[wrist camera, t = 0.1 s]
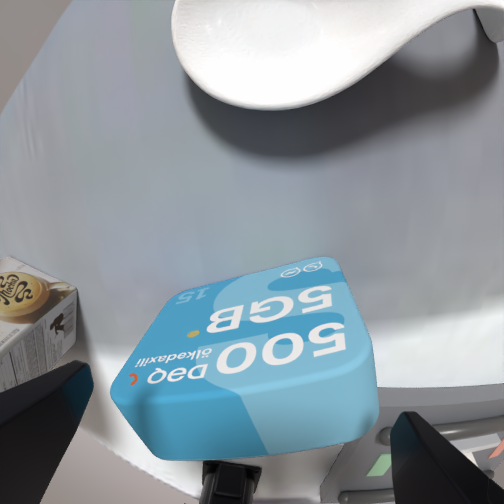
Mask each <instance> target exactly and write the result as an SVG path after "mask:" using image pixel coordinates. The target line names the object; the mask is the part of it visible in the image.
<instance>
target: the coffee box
mask: <svg viewBox="0 0 504 504" xmlns="http://www.w3.org/2000/svg"><path fill="white" fill-rule="evenodd" d="M76 309H77V289H76V288H75V287H74V286H71V285H69V284H67V283H65V282H62V281H60V280H58V279H56V278H53V277H51V276H49V275H47V274H45V273H43V272H40V271H38V270H36V269H34V268H32V267H30V266H28V265H26V264H24V263H22V262H20V261H18V260H16V259H14V258H12V257H9V256H8V257H6V258H4V259H2V260H1V261H0V392H3V391H5V390H7V389H10V388H12V387H15V386H17V385H19V384H22V383H24V382H26V381H29V380H31V379H33V378H36V377H38V376H40V375H43V374H45V373H47V372H49V371H50V370H51V369H52V368H53V366H54V365H55V364H56V363H57V362H58V361H59V360H60V359H61V357H62V356H63V355H64V354H65V353H66V352H67V351H68V350H69V349H70V348H71V347H72V346H73V345H74V343H75V342H76Z"/></svg>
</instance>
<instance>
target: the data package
mask: <svg viewBox="0 0 504 504" xmlns="http://www.w3.org/2000/svg"><path fill="white" fill-rule="evenodd" d="M110 395H111V398H112V400H113V401H114V403H115V404H116V406H117V407H118V409H119V410H120V412H121V413H122V414H123V416H124V417H125V419H126V420H127V421H128V423H129V424H130V425H131V427H132V428H133V429H134V431H135V432H136V433H137V435H138V436H139V437H140V439H141V440H142V441H143V442H144V444H145V445H146V446H147V447H148V449H149V450H150V451H151V452H152V454H153V455H155V456H156V457H158V458H160V459H163V460H170V461H200V460H225V459H240V458H252V457H262V456H271V455H279V454H286V453H293V452H299V451H305V450H311V449H317V448H322V447H327V446H332V445H337V444H341V443H346V442H350V441H353V440H356V439H358V438H360V437H362V436H363V435H365V434H366V433H367V432H368V431H370V430H371V428H372V427H373V426H374V425H375V423H376V421H377V419H378V416H379V402H378V390H377V380H376V371H375V362H374V354H373V346H372V341H371V338H370V336H369V333H368V331H367V328H366V326H365V323H364V321H363V319H362V316H361V314H360V312H359V309H358V307H357V305H356V302H355V300H354V298H353V295H352V293H351V291H350V288H349V286H348V284H347V282H346V279H345V277H344V275H343V273H342V271H341V268H340V266H339V264H338V262H337V261H336V260H335V259H333V258H330V257H316V258H311V259H307V260H303V261H300V262H296V263H292V264H288V265H284V266H280V267H277V268H273V269H269V270H265V271H261V272H257V273H253V274H249V275H245V276H241V277H237V278H233V279H229V280H225V281H221V282H217V283H213V284H209V285H205V286H201V287H197V288H193V289H189V290H186V291H184V292H181V293H179V294H177V295H176V296H174V297H172V298H171V299H170V300H169V301H168V302H167V303H166V305H165V306H164V308H163V309H162V310H161V312H160V313H159V315H158V316H157V318H156V319H155V321H154V322H153V323H152V325H151V326H150V328H149V329H148V331H147V332H146V334H145V335H144V337H143V338H142V340H141V341H140V342H139V344H138V345H137V347H136V348H135V350H134V351H133V353H132V354H131V356H130V357H129V359H128V360H127V362H126V363H125V365H124V366H123V368H122V369H121V371H120V372H119V374H118V375H117V377H116V378H115V380H114V382H113V383H112V386H111V389H110Z"/></svg>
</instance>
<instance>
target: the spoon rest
mask: <svg viewBox="0 0 504 504" xmlns="http://www.w3.org/2000/svg"><path fill="white" fill-rule="evenodd" d="M468 9H475V10H476V12H477V15H478V17H479V19H480V21H481V23H482V26H483V29H484V31H485V33H486V34H487V36H488V38H489V39H490V40H491V41H493V42H495V43H498V42H501V41H502V40H504V0H176V1H175V4H174V7H173V12H172V18H171V33H172V39H173V45H174V49H175V52H176V55H177V57H178V60H179V62H180V64H181V66H182V67H183V69H184V70H185V72H186V73H187V74H188V76H189V77H190V78H191V79H192V80H193V81H194V83H195V84H196V85H197V86H198V87H199V88H201V89H202V90H203V91H204V92H206V93H207V94H209V95H210V96H212V97H213V98H215V99H217V100H220V101H222V102H224V103H227V104H230V105H233V106H237V107H241V108H246V109H254V110H274V111H276V110H288V109H294V108H299V107H303V106H308V105H311V104H314V103H317V102H319V101H322V100H324V99H326V98H329V97H331V96H333V95H335V94H337V93H339V92H341V91H343V90H345V89H346V88H348V87H350V86H351V85H353V84H355V83H356V82H358V81H359V80H361V79H362V78H364V77H365V76H367V75H368V74H369V73H371V72H372V71H373V70H374V69H376V68H377V67H378V66H380V65H381V64H382V63H384V62H385V61H386V60H388V59H389V58H390V57H391V56H392V55H394V54H395V53H396V52H397V51H399V50H400V49H401V48H403V47H404V46H405V45H406V44H408V43H409V42H411V41H412V40H413V39H414V38H416V37H417V36H419V35H420V34H421V33H423V32H424V31H426V30H427V29H429V28H430V27H432V26H433V25H435V24H436V23H438V22H440V21H441V20H443V19H445V18H447V17H449V16H451V15H454V14H456V13H458V12H461V11H465V10H468Z"/></svg>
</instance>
